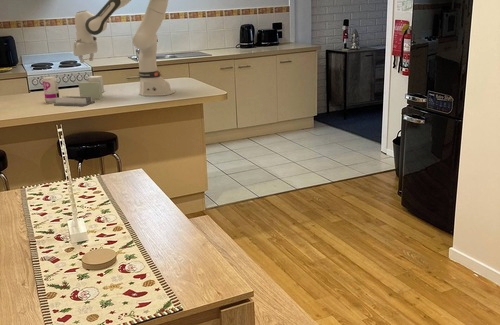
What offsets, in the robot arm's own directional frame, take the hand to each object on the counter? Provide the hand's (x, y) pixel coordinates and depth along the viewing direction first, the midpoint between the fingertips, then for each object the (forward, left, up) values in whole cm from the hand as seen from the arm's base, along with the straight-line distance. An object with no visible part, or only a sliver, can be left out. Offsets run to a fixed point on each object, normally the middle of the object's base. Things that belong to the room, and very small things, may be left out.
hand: (86, 61), depth 329 cm
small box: (+8, -18, -23) cm, 30 cm away
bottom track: (-1, +19, -22) cm, 29 cm away
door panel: (-1, +1, -23) cm, 23 cm away
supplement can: (+17, +15, -23) cm, 32 cm away
